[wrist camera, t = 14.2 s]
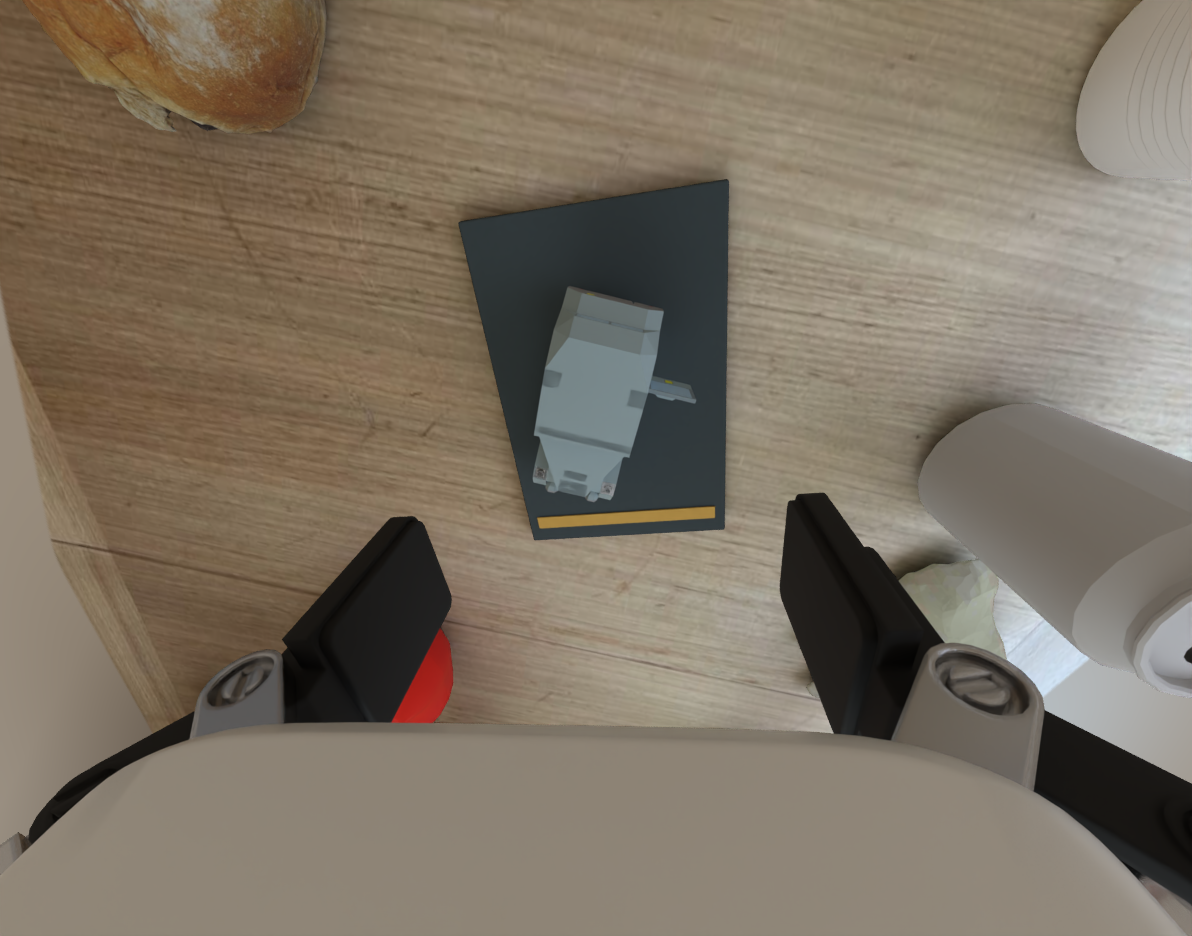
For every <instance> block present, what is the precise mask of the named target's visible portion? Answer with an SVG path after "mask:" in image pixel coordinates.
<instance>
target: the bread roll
mask: <svg viewBox="0 0 1192 936" xmlns="http://www.w3.org/2000/svg"><path fill="white" fill-rule="evenodd" d="M22 1H23V2H24V4H25V5H26V6H27V8H28V9H29V10H30V12H31V13H32V15H33V16H34V17H35V18H36V19H37V20H38V21H39V22H40V24H41V27H42V29H43V30H44V31H45V32H46V33H47V34H48V35H49V36H50V37H51V38H52V39H53V41H54V42H55V44H56V45H57V46H58V47H59V49H60V50H61V51H62V52H63V53H64V55H65V56H66V57H67V58H68V59H69V60H70V61H71V62H72V63H73V64H74V65H75V66H76V68H77V69H78V70H79V71H80V73H81V74H82V75H83V76H84V78H85V79H86V80H88V81H89V82H91V83H94V84H101V85H107V86H108V87H109V88H111V89H113V90H114V91H115V93H116V95H117V97H118V99H119V101H120V103H121V105H122V106H123V107H125V108H126V109H127V110H128V111H129V112H130V113H132V114H133V115H134V116H135V117H136V118H139V119H142V120H144V121H145V122H147V123H149V124H150V125H152V126H153V127H154V128H156V129H159V130H168V131H171V132H174V131H176V130H175V129H174V128H173V127H172V125H173V120H172V119H171V118H169V117H168V115H169V113H170V112H171V111H172V112H175V113H177V114H180V115H182V116H184V117H187V118H189V119H190V120H191V121H192V122H193V123H195V124H196V125H198V126H199V127H200V128H202V129H204V130H207V131H208V130H214V129H220V130H222V131H224V132H226V133H233V132H235V133H238V134H241V133H243V134H252V133H257V132H262V131H267V132H270V133H272V131H273V129H275V128H278V127H280V126H281V125H283V124H285V123H287V122H288V121H290V120H292V119H293V118H295V117H296V116H297V115H298V114H299V113H301V112H302V111H303V110H304V109H305V107H306V100H307V98H308V97H309V96H310V95H311V91H312V89H313V87H314V85H315V84H316V83H317V81H318V77H317V75H318V69H319V63H320V59H321V56H322V52H323V47H324V41H325V32H326V20H327V15H326V8H325V1H324V0H22Z"/></svg>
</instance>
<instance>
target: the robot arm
mask: <svg viewBox="0 0 1192 936" xmlns="http://www.w3.org/2000/svg"><path fill="white" fill-rule="evenodd" d="M780 594H781V599H782V602H783V604H784V607H785V609H786V612H787V615H788V617H789V620H790V622H791V625H792V627H793V630H794V633H795V635H796V638H797V640H798V643H799V645H800V648H801V651H802V653H803V656H804V658H805V661H806V664H807V666H808V669H809V671H810V674H811V676H812V679H813V682H814V684H815V687H816V689H817V692H818V694H819V697H820V700H821V702H822V705H823V707H824V710H825V712H826V715H827V718H828V720H829V723H830V725H831V728H832V730H833V732H834V734H832V733H820V732H801V731H776V730H750V729H723V728H678V727H634V726H586V725H528V724H465V723H391V722H392V720H393V718H394V717H395V715H396V713H397V711H398V709H399V707H400V705H401V703H402V701H403V699H404V697H405V695H406V693H407V691H408V689H409V687H410V685H411V683H412V681H413V680H414V678H415V676H416V674H417V672H418V670H419V668H420V666H421V664H422V662H423V660H424V658H425V656H426V654H427V652H428V650H429V648H430V646H431V644H432V643H433V641H434V639H435V637H436V635H437V633H438V631H439V629H440V627H441V625H442V623H443V621H444V619H445V617H446V615H447V613H448V611H449V609H450V607H451V601H452V598H451V593H450V591H449V588H448V586H447V583H446V580H445V578H444V575H443V573H442V570H441V567H440V565H439V562H438V560H437V557H436V554H435V552H434V549H433V547H432V544H431V541H430V539H429V536H428V534H427V531H426V528H425V526H424V524H423V523H422V522H421V521H418V520H417V518H415V517H413V516H407V517H393V518H390V519H389V520H388V521H387V522H386V523H385V524H384V526H383V527H382V528H381V529H380V530H379V531H378V532H377V533H376V535H375V536H374V537H373V538H372V539H371V540H370V541H369V542H368V543H367V545H366V546H365V547H364V548H363V549H362V550H361V551H360V552H359V554H358V555H357V556H356V557H355V558H354V559H353V560H352V561H351V563H350V564H349V565H348V566H347V567H346V568H345V569H344V570H343V572H342V573H341V574H340V575H339V576H338V577H337V578H336V579H335V580H334V582H333V583H332V584H331V585H330V586H329V587H328V588H327V589H326V591H325V592H324V593H323V594H322V595H321V596H320V597H319V598H318V600H317V601H316V602H315V603H314V604H313V605H312V606H311V607H310V609H309V610H308V611H307V612H306V613H305V614H304V615H303V616H302V617H301V619H300V620H299V621H298V622H297V623H296V624H295V625H294V626H293V628H292V629H291V630H290V631H289V632H288V633H287V634H286V635H285V637H284V638H283V639H282V640H283V642H284V643H285V645H286V646H287V647H288V648H287V649H286V650H285V651H284V653H283V654H282V655H281V653H279V652H278V651H276V650H269V649H266V650H261V651H256V652H253V653H251V654H248V655H245V656H243V657H241V658H239V659H238V660H236V661H234V662H232V663H231V664H229V665H228V666H226V667H225V668H224V669H222V670H221V671H220V672H218V673H217V674H216V675H215V676H214V677H213V678H212V679H211V680H210V681H209V682H208V683H207V684H206V686H205V687H204V688H203V690H202V691H201V693H200V695H199V698H198V700H197V704H196V709H195V711H194V712H192V713H190V714H188V715H187V716H185V717H183V718H181V719H179V720H177V721H176V722H174V723H172V724H170V725H168V726H166V727H165V728H163V729H161V730H159V731H157V732H155V733H153V734H152V735H150V736H148V737H146V738H144V739H142V740H141V741H139V742H137V743H135V744H133V745H132V746H130V747H128V748H126V749H124V750H122V751H120V752H119V753H117V754H115V755H113V756H111V757H110V758H108V759H106V760H104V761H102V762H100V763H98V764H97V765H95V766H93V767H92V768H90V769H88V770H87V771H85V772H83V773H81V774H80V775H78V776H77V777H75V778H73V779H72V780H71V781H69V782H68V783H67V784H66V785H65V786H64V787H63V788H62V789H61V790H60V791H58V793H57V794H56V795H55V796H54V797H53V798H52V799H51V800H50V801H49V802H48V803H47V804H46V806H45V807H44V808H43V809H42V810H41V812H40V813H39V814H38V816H37V817H36V819H35V820H34V822H33V824H32V826H31V828H30V830H29V835H27V836H26V837H25V836H23V835H22V834H20V833H19V832H18V833H17V834H15V835H14V836H12V837H11V838H9V839H8V840H7V841H5V842H4V843H2V844H1V845H0V936H1192V784H1191V783H1189V782H1187V781H1185V780H1183V779H1181V778H1179V777H1177V776H1175V775H1173V774H1171V773H1169V772H1167V771H1165V770H1163V769H1161V768H1159V767H1157V766H1155V765H1153V764H1151V763H1149V762H1147V761H1145V760H1143V759H1141V758H1139V757H1137V756H1135V755H1133V754H1131V753H1129V752H1127V751H1125V750H1123V749H1121V748H1119V747H1117V746H1115V745H1113V744H1111V743H1109V742H1107V741H1105V740H1103V739H1101V738H1099V737H1097V736H1095V735H1093V734H1091V733H1089V732H1087V731H1085V730H1083V729H1081V728H1079V727H1077V726H1075V725H1073V724H1071V723H1069V722H1067V721H1065V720H1063V719H1061V718H1059V717H1057V716H1055V715H1053V714H1051V713H1049V712H1047V711H1045V710H1044V703H1043V697H1042V695H1041V694H1040V692H1039V690H1038V689H1037V687H1036V685H1035V684H1034V683H1033V682H1032V681H1031V680H1030V679H1029V678H1028V677H1027V676H1026V675H1025V673H1024V672H1023V671H1021V670H1020V669H1019V668H1017V667H1016V666H1014V665H1013V664H1012V663H1010V662H1009V661H1007V660H1006V659H1004V658H1002V657H1000V656H998V655H996V654H994V653H992V652H990V651H988V650H985V649H982V648H979V647H976V646H973V645H968V644H962V643H955V642H953V643H945V642H944V641H943V640H942V638H941V637H940V636H939V634H938V633H937V632H936V630H935V629H934V628H933V626H932V625H931V624H930V622H929V621H928V620H927V618H926V617H925V616H924V614H923V613H922V612H921V610H920V609H919V608H918V606H917V605H916V604H915V602H914V601H913V600H912V598H911V597H910V596H909V594H908V593H907V592H906V590H905V589H904V588H903V586H902V585H901V584H900V582H899V581H898V580H897V578H896V577H895V576H894V574H893V573H892V571H891V570H890V569H889V567H888V566H887V565H886V563H885V562H884V561H883V559H882V558H881V557H880V555H879V554H878V553H877V552H876V551H875V550H874V549H873V548H870V547H864V546H863V545H862V544H861V542H860V541H859V539H858V538H857V537H856V535H855V534H854V532H853V531H852V530H851V528H850V527H849V526H848V524H847V523H846V521H845V520H844V519H843V517H842V516H841V514H840V513H839V512H838V510H837V509H836V507H835V506H834V505H833V503H832V502H831V501H830V499H829V498H828V496H827V495H826V494H825V493H809V494H798V495H797V496H796V499H795V500H793V501H789V502H788V506H787V515H786V526H785V536H784V547H783V557H782V567H781V578H780Z"/></svg>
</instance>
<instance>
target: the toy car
mask: <svg viewBox="0 0 1192 936" xmlns="http://www.w3.org/2000/svg"><path fill="white" fill-rule="evenodd" d="M663 313H664V311H663V309H661V308H657V307H653V306H649V305H645V304H641V303H637V302H634V304H633V302H632V301H628V300H624V299H620V298H616V297H612V296H608V295H604V294H600V293H596V292H592V291H588V290H584V289H580V288H576V287H572V286H569V287H567V291H566V295H565V298H564V302H563V305H562V308H561V311H560V314H559V317H558V319H557V322H556V325H555V328H554V331H553V335H552V340H551V344H550V348H549V353H548V357H547V362H546V366H545V371H544V377H543V383H542V389H541V395H540V401H539V407H538V413H537V419H536V425H535V431H534V436H539V437H540V445H539V449H538V453H537V458H536V462H535V467H534V472H533V482H534V483H538V484H543V485H546V487H545V488H546V490H547V491H548V492H552V493H555V492H557V491H560V492H564V493H569V494H573V495H578V496H582V497H585V498H586V500H587V501H591V502H595V501H596V500H597V499H598V497H599V498H604V499H608V500H611V498H612V497H613V494H614V491H615V487H616V483H617V479H618V475H619V471H620V466H621V462H622V459H623V457H628V458H629V457H630V453H631V450H632V446H633V443H634V439H635V436H636V433H637V429H638V426H639V422H640V419H641V415H642V412H643V408H644V405H645V402H646V398H647V395H648V393H653V394H656V396H657V397H659V398H663V399H667V400H671V401H673V400H674V399H678V400H682V401H686V402H690V403H694V404H695V403H696V398H695V395H694V393H693V390H692V388H691V385H688V384H684V383H680V382H676V381H672V380H667V379H663V378H659V377H655V376H652V374H653V370H654V365H655V361H656V357H657V351H658V343H659V335H660V328H661V323H662V318H663Z"/></svg>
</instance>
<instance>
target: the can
mask: <svg viewBox="0 0 1192 936" xmlns="http://www.w3.org/2000/svg"><path fill="white" fill-rule="evenodd" d="M918 489H919V499H920V500H921V502H922V504H923V506H924V507H925V509H926V511H927V512H928V513H929V514H930V515H931V516H932V517H933V518H934V519H935V520H937V521H938V522H939V523H940V524H941V525H942V526H943V527H944V528H945V529H946V530H947V531H949V532H950V533H951V534H952V535H953V536H954V537H955V538H956V539H957V540H958V541H960V542H961V543H962V544H963V545H964V546H965V547H966V548H967V549H968V550H969V551H971V552H972V553H973V554H974V555H975V556H976V557H977V558H978V559H979V560H980V561H981V562H983V563H984V564H985V565H986V566H987V567H988V568H989V569H990V570H991V571H992V572H994V573H995V574H996V575H997V576H998V577H999V578H1000V579H1001V580H1002V581H1003V582H1004V583H1006V584H1007V585H1008V586H1009V587H1010V588H1011V589H1012V590H1013V591H1014V592H1015V593H1017V594H1018V595H1019V596H1020V597H1021V598H1022V599H1023V600H1024V601H1025V602H1026V603H1028V604H1029V605H1030V606H1031V607H1032V608H1033V609H1034V610H1035V611H1036V612H1037V613H1038V614H1040V615H1041V616H1042V617H1043V618H1044V619H1045V620H1046V621H1047V622H1048V623H1049V624H1051V625H1052V626H1053V627H1054V628H1055V629H1056V630H1057V631H1058V632H1059V633H1060V634H1062V635H1063V636H1064V637H1065V638H1066V639H1067V640H1068V641H1069V642H1070V643H1071V644H1072V645H1074V646H1075V647H1076V648H1077V649H1078V650H1079V651H1080V652H1081V653H1083V654H1084V655H1086V656H1087V657H1089V658H1090V659H1092V660H1093V661H1095V662H1097V663H1098V664H1100V665H1102V666H1106V667H1111V668H1114V669H1119V670H1123V671H1127V672H1131V673H1136V674H1137V676H1138V678H1140V679H1141V680H1143V681H1144V682H1146V683H1147V684H1148V685H1150V686H1151V687H1153V688H1154V689H1156V690H1157V691H1161V692H1165V693H1169V694H1173V695H1177V696H1181V697H1187V698H1192V462H1190V461H1187V460H1185V459H1182V458H1180V457H1177V456H1175V455H1172V454H1169V453H1167V452H1164V451H1162V450H1159V449H1157V448H1154V447H1152V446H1149V445H1147V444H1144V443H1141V442H1139V441H1136V440H1134V439H1131V438H1129V437H1126V436H1124V435H1121V434H1118V433H1116V432H1113V431H1111V430H1108V429H1106V428H1103V427H1101V426H1098V425H1095V424H1093V423H1090V422H1088V421H1085V420H1083V419H1080V418H1078V417H1075V416H1072V415H1070V414H1067V413H1065V412H1062V411H1060V410H1057V409H1054V408H1050V407H1046V406H1043V405H1039V404H1036V403H1031V404H1009V405H1005V406H1002V407H998V408H995V409H991V410H988V411H985V412H982V413H980V414H978V415H976V416H974V417H972V418H971V419H969V420H967V421H965V422H963V423H961V424H960V425H958V426H956V427H955V428H954V429H953V430H952V431H951V432H950V433H948V434H947V435H946V436H945V437H944V438H943V439H941V440H940V441H939V442H938V443H937V444H936V446H935V447H934V449H933V450H932V451H931V453H930V454H929V456H928V457H927V459H926V460H925V461H924V464H923V467H922V470H921V473H920V476H919V479H918Z"/></svg>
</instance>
